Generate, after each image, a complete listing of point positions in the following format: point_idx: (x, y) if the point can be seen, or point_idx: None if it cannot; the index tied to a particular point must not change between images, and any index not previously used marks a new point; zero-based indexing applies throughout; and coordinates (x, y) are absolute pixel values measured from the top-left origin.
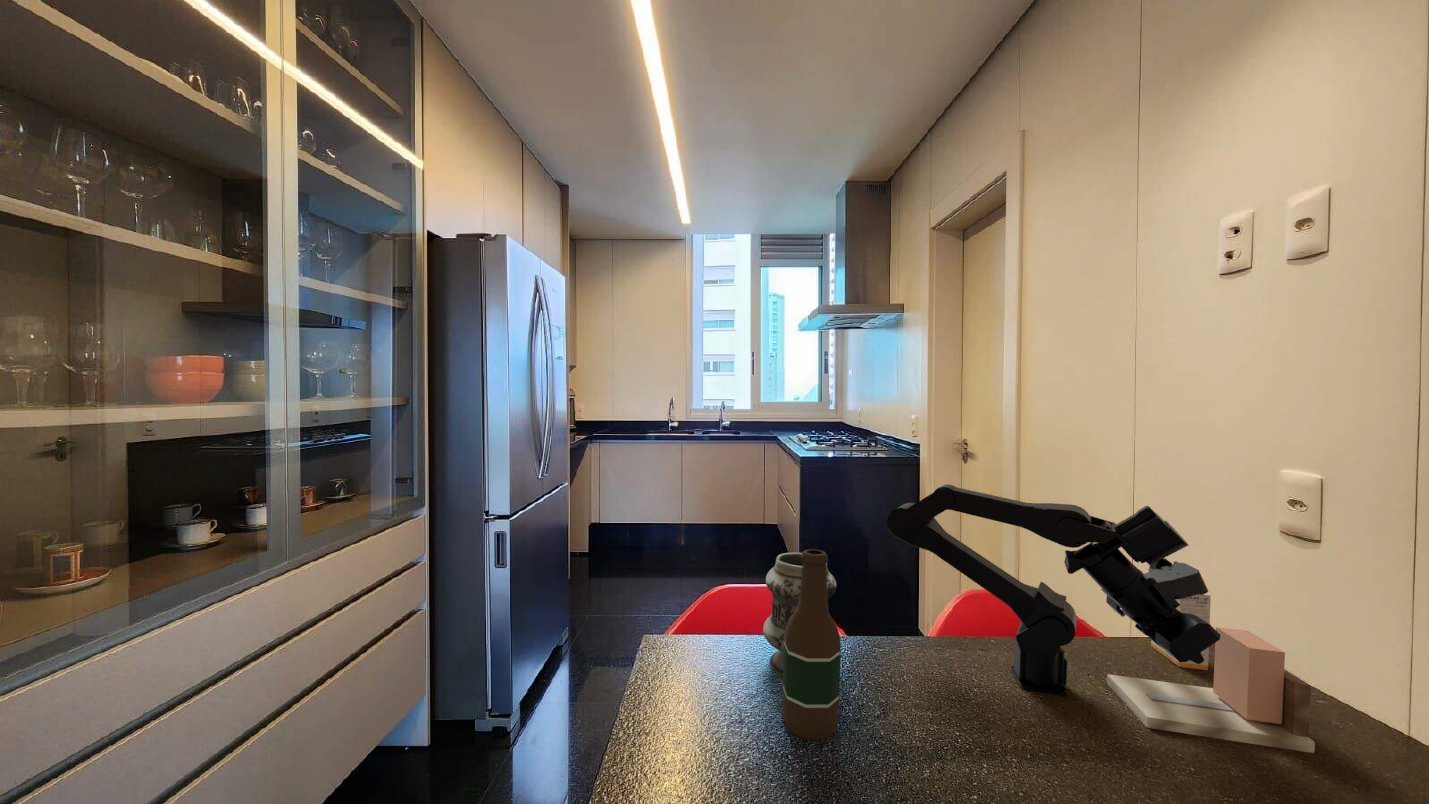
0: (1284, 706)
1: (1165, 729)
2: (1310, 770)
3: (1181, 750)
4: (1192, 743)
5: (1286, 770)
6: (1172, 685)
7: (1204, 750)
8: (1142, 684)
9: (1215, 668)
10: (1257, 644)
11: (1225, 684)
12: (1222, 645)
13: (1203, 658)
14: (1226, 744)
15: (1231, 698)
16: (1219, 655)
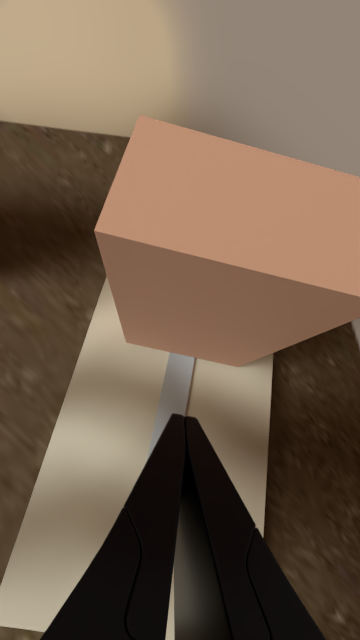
0: None
1: None
2: (317, 354)
3: (322, 596)
4: (286, 537)
5: (329, 398)
6: (76, 414)
7: (307, 527)
8: (67, 518)
9: (126, 323)
10: (320, 220)
11: (172, 341)
12: (159, 289)
13: (198, 423)
14: (273, 449)
15: (193, 352)
16: (143, 308)
